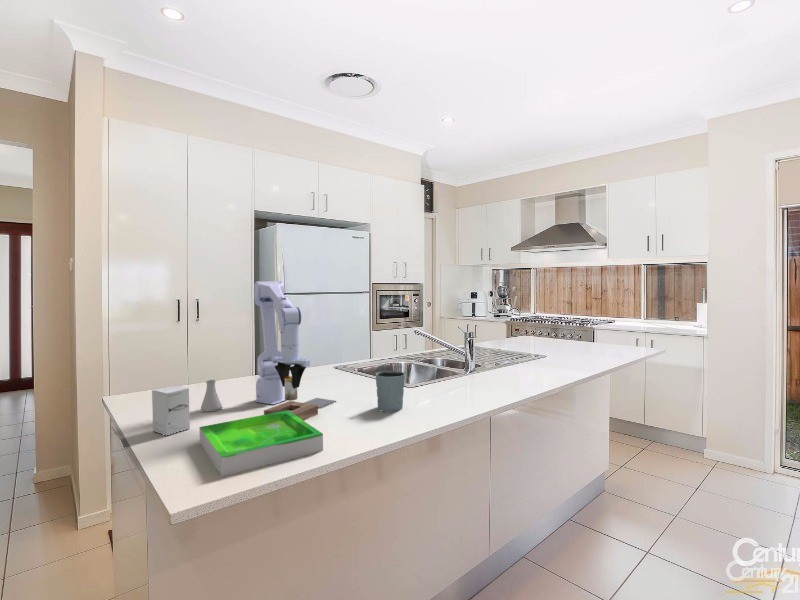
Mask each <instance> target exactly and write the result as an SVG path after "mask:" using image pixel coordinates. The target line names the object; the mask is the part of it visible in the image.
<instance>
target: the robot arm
mask: <svg viewBox="0 0 800 600" xmlns="http://www.w3.org/2000/svg"><path fill="white" fill-rule="evenodd" d="M253 295H254V296H253V297H254V303H255V306H258V307H259V309H260V313H261V323H262V324H261V326H262V335H263V347H264V351H262V353H260V354H259V355H258V356H257V361H256V362H257V363H256V365H257V366H256V369H257V375H258V376H259V377H258V378H257V380H256V383H255V392H256V396H255V397H256V399H254V402H256V403H261V404H268V405H276V404H279V403H282V402H285V401H286V400H285V396H284V378H285V377H287V376H290V375H291V376H292V382H293V388H297V389H298V388H299V387H300V384H301V380H302V377H303V374H304V372H305V370H306V368H307V367H310V366H311V365H310V364H311V361H310V359H307V358H306V359H305V358H302V357H300V332H299V331H300V330H299V326H300V325H301V323H302V312H301V309H300V307H299V306H294V305H293V304H292V302H291V301H290V299H289V298H288V297H287V296H285V285H284V282H283V281H282V280H278V281H258V280H257V281H255V283H254V285H253ZM275 313H276V314H277V322H278V331H279V332H280V350H279V347H278V336H277V335H278V334H277V323H276V315H275Z"/></svg>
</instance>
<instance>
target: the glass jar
mask: <svg viewBox="0 0 800 600" xmlns="http://www.w3.org/2000/svg"><path fill="white" fill-rule="evenodd" d="M283 389H284V397H285V401H287V402H288V401H295V400H298V388H293V382H292V375H289V376H287V377H285V378H284V387H283Z"/></svg>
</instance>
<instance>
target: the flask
mask: <svg viewBox="0 0 800 600" xmlns="http://www.w3.org/2000/svg"><path fill="white" fill-rule="evenodd" d="M216 382H217V381H216V379H208V380H205V383H206V389H205V394H204V397H203V400H202V403H201V405H200V408H201V409H200V411H201V410H202V411H201V412H205V411H206V412H205V413H209V411H210V412H215V411H219V410H222V409H223V408H224V406H223V405H222V403H221V401H220V398H219V396H218V393H217V390H216V389H217V388H216Z"/></svg>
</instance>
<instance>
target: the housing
mask: <svg viewBox="0 0 800 600" xmlns="http://www.w3.org/2000/svg"><path fill="white" fill-rule="evenodd" d="M287 410H288V411H289V412H291V413H293V414H294V415H296V416H297V417H299V418H300V419H302V420H303V421H306V420H308V419H310V417H311V418H312V417H315V416H317V415H319V408H318V405H313V404H307V403H304V402H300V401H295V400H291V401H288V400H287V401H286V402H284V403H280V404H278V405H275V406H273V407H269V408H267V409H264V410H263V415H266V414H271V413H276V412H282V411H287Z"/></svg>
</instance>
